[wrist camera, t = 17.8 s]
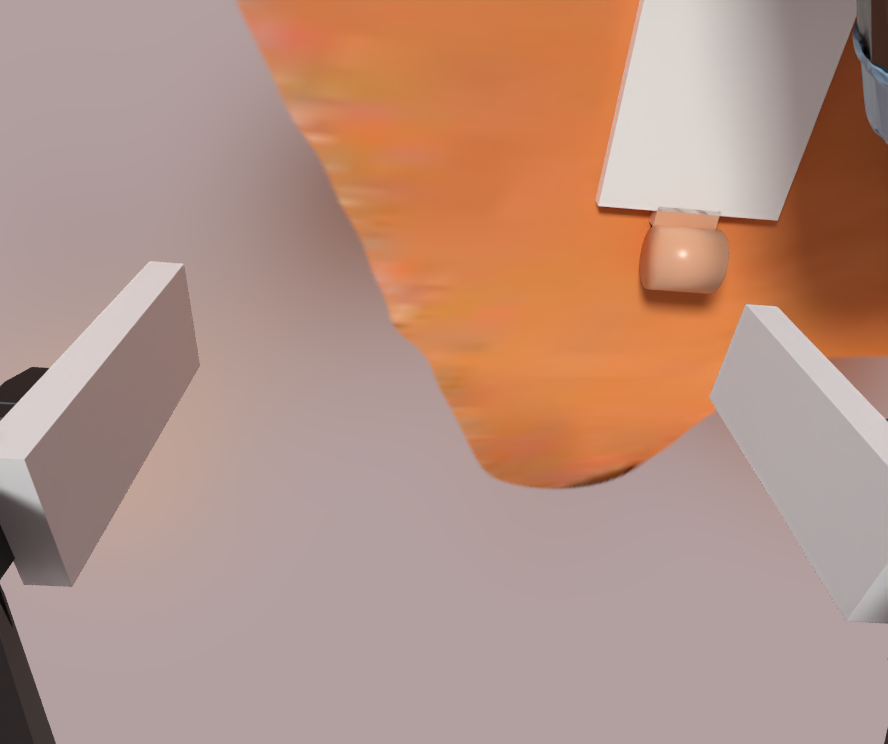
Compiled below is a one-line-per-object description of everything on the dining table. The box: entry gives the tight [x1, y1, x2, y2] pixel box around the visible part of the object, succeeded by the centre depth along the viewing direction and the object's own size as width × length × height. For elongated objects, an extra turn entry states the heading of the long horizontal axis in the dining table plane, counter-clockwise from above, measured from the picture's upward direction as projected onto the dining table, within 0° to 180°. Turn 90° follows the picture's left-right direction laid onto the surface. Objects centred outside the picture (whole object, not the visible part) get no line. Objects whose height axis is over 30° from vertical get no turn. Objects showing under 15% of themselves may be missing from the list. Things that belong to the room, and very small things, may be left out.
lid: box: [595, 0, 857, 294], centre depth 39 cm, size 22×13×4 cm, turn 175°
